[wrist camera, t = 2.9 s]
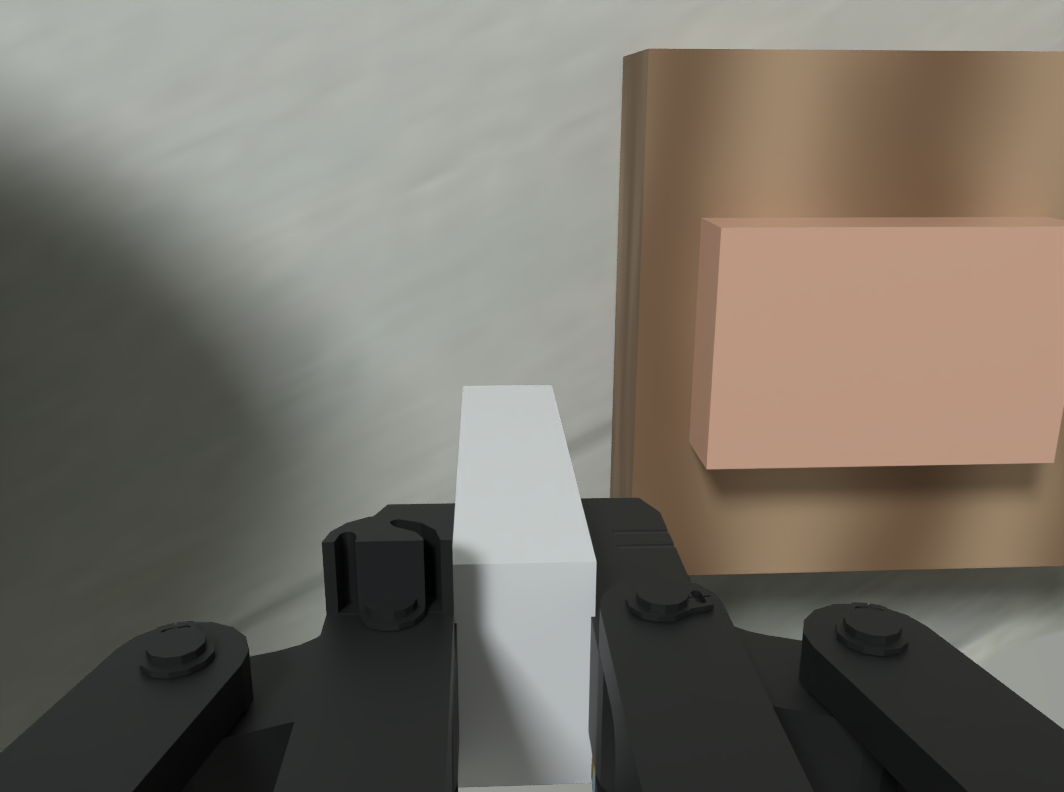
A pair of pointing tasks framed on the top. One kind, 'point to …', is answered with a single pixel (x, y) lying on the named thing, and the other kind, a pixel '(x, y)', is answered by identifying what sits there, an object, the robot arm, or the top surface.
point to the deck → (819, 192)
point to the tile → (878, 341)
